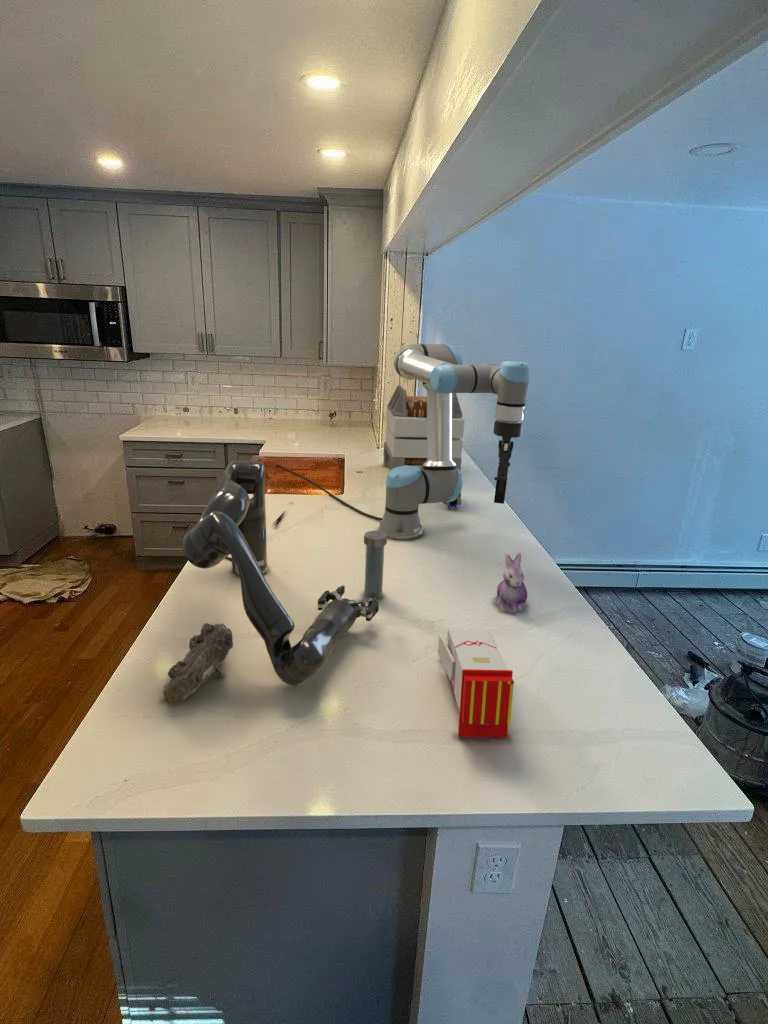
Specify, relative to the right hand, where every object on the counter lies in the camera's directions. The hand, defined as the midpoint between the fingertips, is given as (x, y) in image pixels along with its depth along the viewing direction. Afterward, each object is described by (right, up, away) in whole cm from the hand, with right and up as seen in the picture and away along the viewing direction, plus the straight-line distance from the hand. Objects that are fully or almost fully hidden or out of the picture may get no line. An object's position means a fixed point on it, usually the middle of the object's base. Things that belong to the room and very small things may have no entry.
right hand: (499, 495), depth 160 cm
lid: (-35, -11, -10) cm, 38 cm away
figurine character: (-5, -2, +71) cm, 71 cm away
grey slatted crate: (-15, +14, +115) cm, 116 cm away
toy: (-15, -42, -42) cm, 61 cm away
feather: (-71, -6, +52) cm, 88 cm away
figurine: (+2, -30, -6) cm, 31 cm away
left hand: (-39, -25, -16) cm, 49 cm away
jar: (-36, -28, -4) cm, 45 cm away
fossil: (-71, -39, -40) cm, 90 cm away
